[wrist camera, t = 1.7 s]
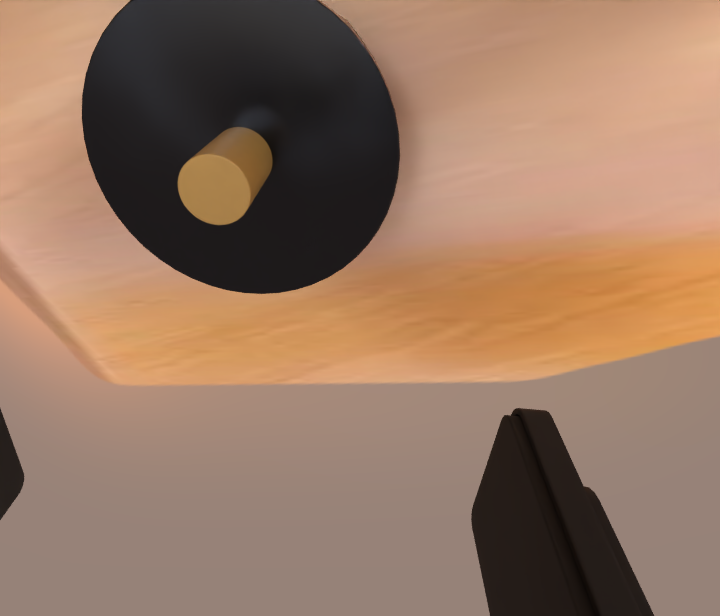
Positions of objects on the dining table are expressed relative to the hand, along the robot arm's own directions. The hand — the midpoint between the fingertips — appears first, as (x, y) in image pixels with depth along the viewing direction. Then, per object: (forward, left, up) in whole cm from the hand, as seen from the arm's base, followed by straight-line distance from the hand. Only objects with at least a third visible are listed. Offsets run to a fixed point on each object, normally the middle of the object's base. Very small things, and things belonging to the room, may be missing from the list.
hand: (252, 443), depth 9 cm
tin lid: (-1, -4, -16) cm, 16 cm away
